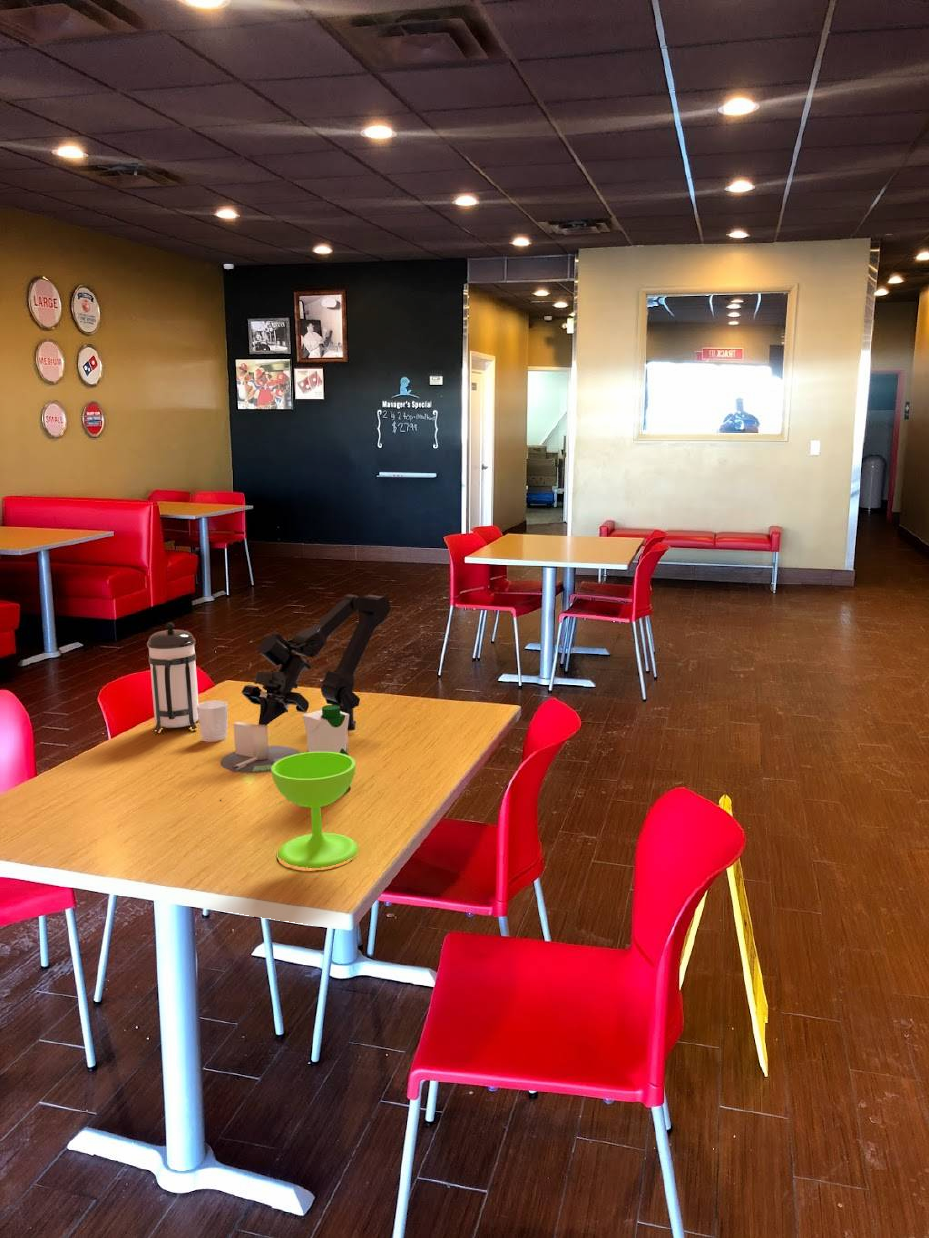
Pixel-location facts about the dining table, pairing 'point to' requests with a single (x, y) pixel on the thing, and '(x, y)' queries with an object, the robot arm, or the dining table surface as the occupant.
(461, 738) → the dining table surface
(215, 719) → the white cup
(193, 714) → the coffee press
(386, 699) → the dining table surface
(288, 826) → the dining table surface
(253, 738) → the peg key
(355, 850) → the wineglass
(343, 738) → the milk carton
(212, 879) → the dining table surface
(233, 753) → the tuner plate
